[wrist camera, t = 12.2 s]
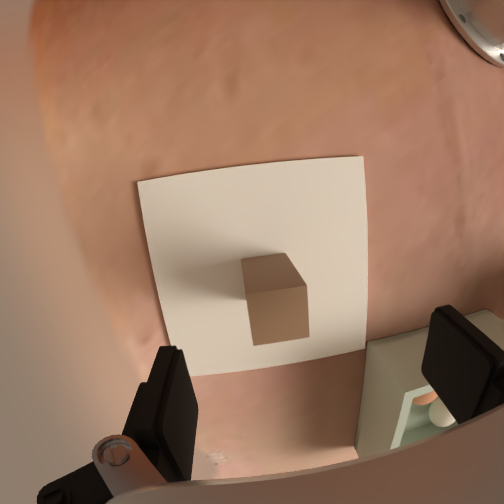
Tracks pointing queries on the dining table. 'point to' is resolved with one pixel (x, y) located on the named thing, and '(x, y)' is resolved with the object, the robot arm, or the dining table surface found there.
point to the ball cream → (440, 414)
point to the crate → (403, 388)
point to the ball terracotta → (425, 398)
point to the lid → (260, 261)
